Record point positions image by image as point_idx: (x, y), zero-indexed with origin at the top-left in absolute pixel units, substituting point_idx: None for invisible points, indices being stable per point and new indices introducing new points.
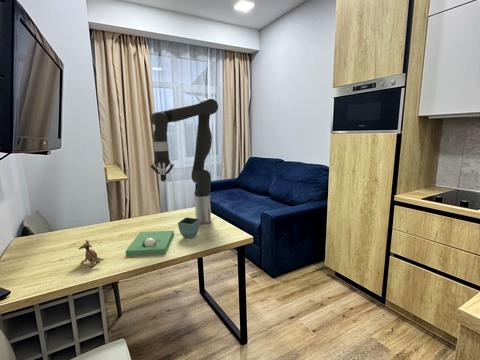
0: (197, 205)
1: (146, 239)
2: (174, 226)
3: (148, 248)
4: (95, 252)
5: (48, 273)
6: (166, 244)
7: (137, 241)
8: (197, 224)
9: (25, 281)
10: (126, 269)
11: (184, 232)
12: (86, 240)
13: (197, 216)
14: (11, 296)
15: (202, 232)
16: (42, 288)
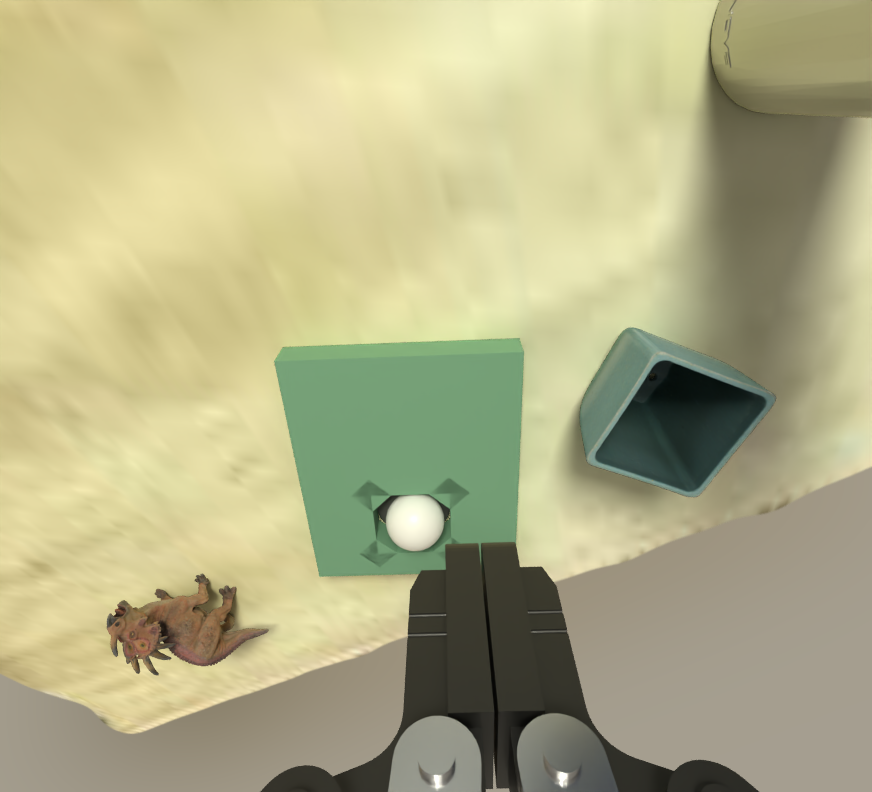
0: (860, 95)
1: (396, 539)
2: (495, 157)
3: (426, 563)
4: (212, 643)
5: (96, 642)
6: (511, 533)
7: (330, 493)
8: (732, 413)
9: (66, 671)
10: (381, 636)
11: (613, 429)
12: (117, 651)
13: (762, 89)
14: (110, 718)
15: (731, 311)
16: (165, 698)
